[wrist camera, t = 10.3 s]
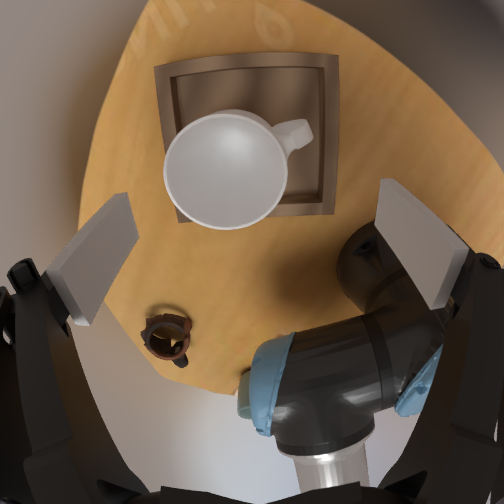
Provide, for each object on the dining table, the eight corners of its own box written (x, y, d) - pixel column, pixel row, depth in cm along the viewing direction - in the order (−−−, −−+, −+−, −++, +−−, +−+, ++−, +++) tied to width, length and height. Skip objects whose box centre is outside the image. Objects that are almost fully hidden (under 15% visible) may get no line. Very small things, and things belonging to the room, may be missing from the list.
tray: (328, 58, 23) (338, 55, 20) (326, 201, 34) (334, 214, 31) (164, 68, 24) (154, 66, 21) (184, 209, 34) (178, 223, 31)
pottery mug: (133, 316, 47) (128, 335, 39) (174, 291, 49) (175, 306, 41) (169, 362, 50) (171, 385, 42) (207, 340, 52) (215, 360, 44)
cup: (270, 382, 59) (272, 420, 51) (237, 381, 59) (236, 419, 50) (276, 365, 55) (279, 407, 47) (239, 364, 54) (238, 406, 46)
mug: (218, 193, 32) (200, 248, 22) (182, 128, 27) (141, 152, 17) (311, 153, 29) (342, 191, 19) (280, 82, 25) (297, 75, 15)
